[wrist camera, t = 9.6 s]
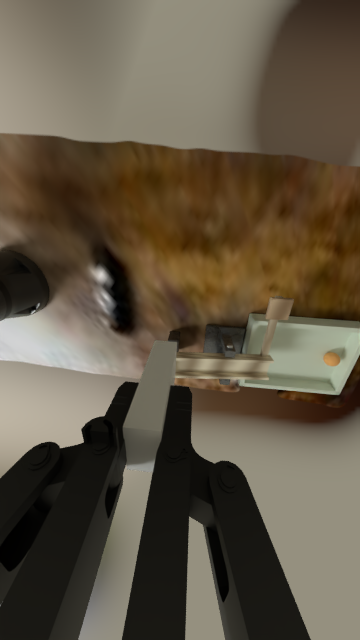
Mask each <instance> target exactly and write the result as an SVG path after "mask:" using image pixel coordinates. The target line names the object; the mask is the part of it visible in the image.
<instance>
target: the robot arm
mask: <svg viewBox="0 0 360 640" xmlns="http://www.w3.org/2000/svg"><path fill="white" fill-rule="evenodd" d="M48 298H49V288H48V284H47V281H46V278H45V276H44V275H43V273H42V272H41V270H40V269H39V268H38V266H37V265H36V264H35V263H34V262H32V261H31V260H30V259H29V258H27V257H26V256H24V255H22V254H20V253H17V252H14V251H8V250H4V251H0V321H1V320H3V319H7V318H15V317H23V316H29V315H32V314H34V313H36V312H38V311H40V310H41V309H42V308H44V306H45V305H46V303H47V301H48ZM176 352H177V342H169V341H157V340H155V342H154V344H153V347H152V350H151V352H150V355H149V358H148V360H147V363H146V366H145V368H144V371H143V374H142V376H141V379H140V382H139V383H135V382H125V383H123V384H122V385H121V386H120V387H119V388H118V390H117V392H116V394H115V397H114V398H113V400H112V403H111V404H110V407H109V408H108V410H107V412H106V415H105V416H103V417H97V418H94V419H92V420H90V421H89V422H88V423H86V424H85V426H84V427H83V428H82V434H83V439H84V443H81V444H78V445H74V446H70V447H65V448H60V447H59V446H58V445H57V444H56V443H54V442H45V443H41V444H39V445H37V446H35V447H33V448H32V449H31V450H29V451H28V452H27V453H26V454H25V455H24V456H23V457H22V458H21V459H20V460H19V461H17V462H16V463H15V464H14V466H12V468H10V469H9V470H8V471H7V472H6V473H5V474H4V475H3V476H2V477H1V478H0V604H1V603H2V604H1V606H0V640H78V638H79V634H80V631H81V627H82V624H83V620H84V617H85V613H86V610H87V606H88V602H89V600H90V596H91V593H92V589H93V586H94V582H95V579H96V575H97V571H98V568H99V565H100V561H101V558H102V554H103V551H104V547H105V544H106V541H107V537H108V534H109V530H110V527H111V523H112V519H113V516H114V513H115V509H116V506H117V502H118V499H119V495H120V492H121V488H122V485H123V472H124V468H125V465H127V469H129V470H138V471H146V472H153V474H152V480H151V485H150V491H149V496H148V501H147V507H146V512H145V517H144V523H143V528H142V534H141V539H140V545H139V550H138V555H137V561H136V566H135V572H134V577H133V582H132V588H131V593H130V599H129V605H128V609H127V615H126V620H125V626H124V631H123V636H122V640H185V624H186V622H185V621H186V593H187V592H186V591H187V562H188V531H189V516H190V517H191V518H193V519H195V520H196V521H198V522H200V523H201V524H203V527H204V532H205V537H206V543H207V547H208V553H209V558H210V563H211V568H212V574H213V578H214V584H215V589H216V594H217V599H218V604H219V609H220V614H221V620H222V625H223V630H224V635H225V640H311V639H310V637H309V634H308V632H307V629H306V627H305V624H304V622H303V620H302V617H301V615H300V612H299V609H298V607H297V604H296V602H295V599H294V597H293V594H292V592H291V589H290V587H289V584H288V582H287V579H286V577H285V574H284V572H283V569H282V567H281V564H280V562H279V559H278V557H277V554H276V552H275V549H274V547H273V544H272V542H271V539H270V537H269V534H268V532H267V529H266V527H265V524H264V522H263V519H262V517H261V514H260V512H259V509H258V507H257V505H256V502H255V500H254V497H253V495H252V492H251V489H250V487H249V484H248V482H247V479H246V477H245V475H244V474H243V472H242V470H240V468H238V466H236V465H235V464H233V463H231V462H229V461H220V462H217V463H215V464H214V463H212V462H210V461H208V460H206V459H204V458H202V457H201V456H199V455H198V454H197V453H196V452H195V450H194V448H193V447H192V444H191V415H192V393H191V391H190V389H189V387H183V386H174V380H175V372H176Z"/></svg>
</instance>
